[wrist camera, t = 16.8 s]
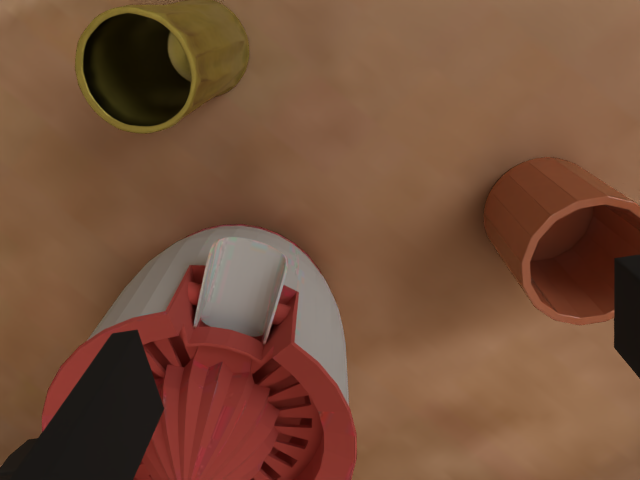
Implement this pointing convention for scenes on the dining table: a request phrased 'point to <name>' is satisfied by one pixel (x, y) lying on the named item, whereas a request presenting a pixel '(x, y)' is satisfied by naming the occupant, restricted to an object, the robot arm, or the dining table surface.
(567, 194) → the terracotta cup
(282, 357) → the citrus juicer
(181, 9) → the vase
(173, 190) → the dining table surface
